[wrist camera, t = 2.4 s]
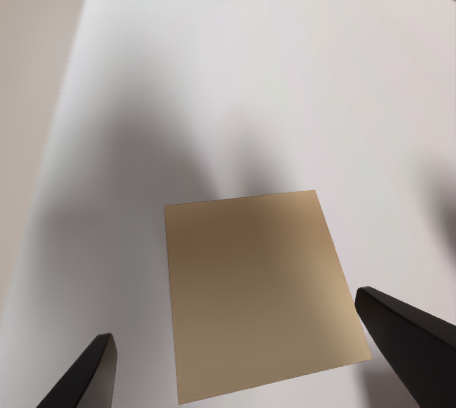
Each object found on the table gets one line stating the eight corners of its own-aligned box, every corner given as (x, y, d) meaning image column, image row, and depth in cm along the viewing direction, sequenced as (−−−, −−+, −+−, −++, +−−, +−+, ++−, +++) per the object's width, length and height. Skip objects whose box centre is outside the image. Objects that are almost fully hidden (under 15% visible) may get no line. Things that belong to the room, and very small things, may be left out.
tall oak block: (259, 332, 17) (372, 358, 6) (191, 346, 16) (178, 404, 5) (246, 265, 19) (314, 189, 8) (184, 274, 18) (164, 205, 7)
